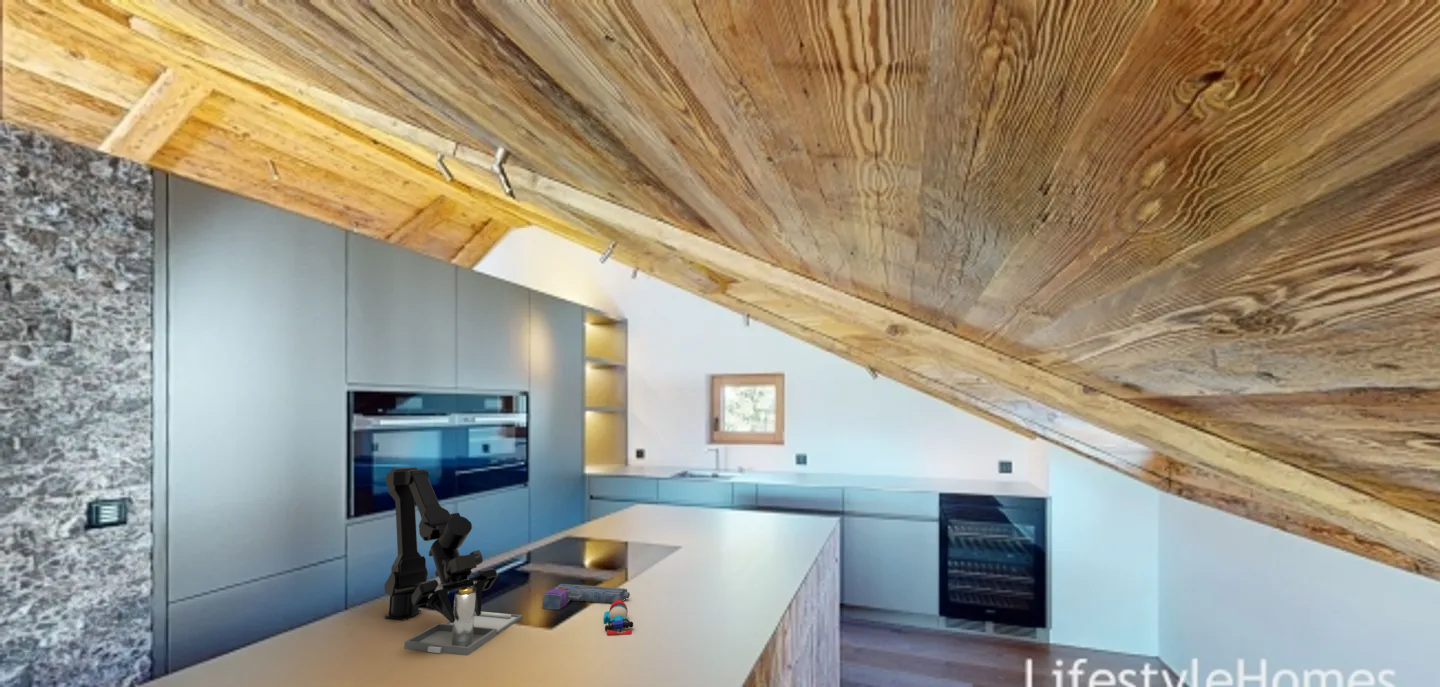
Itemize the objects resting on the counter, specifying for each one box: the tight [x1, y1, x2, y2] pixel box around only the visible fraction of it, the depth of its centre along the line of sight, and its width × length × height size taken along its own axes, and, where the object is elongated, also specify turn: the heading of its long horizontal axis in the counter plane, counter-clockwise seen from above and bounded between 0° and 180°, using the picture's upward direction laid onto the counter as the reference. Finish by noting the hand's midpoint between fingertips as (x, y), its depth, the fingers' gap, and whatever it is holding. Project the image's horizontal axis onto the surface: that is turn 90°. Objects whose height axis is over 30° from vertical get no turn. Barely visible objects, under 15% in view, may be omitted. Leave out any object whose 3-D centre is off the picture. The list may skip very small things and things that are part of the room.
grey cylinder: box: [451, 587, 476, 647], centre depth 139 cm, size 5×5×13 cm
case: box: [403, 622, 498, 656], centre depth 141 cm, size 16×13×2 cm
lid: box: [443, 610, 523, 636], centre depth 153 cm, size 16×13×2 cm
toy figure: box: [603, 600, 634, 636], centre depth 157 cm, size 8×5×15 cm
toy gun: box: [542, 583, 631, 610], centre depth 173 cm, size 4×23×15 cm
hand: (466, 618), depth 138 cm, fingers open, 6 cm apart
